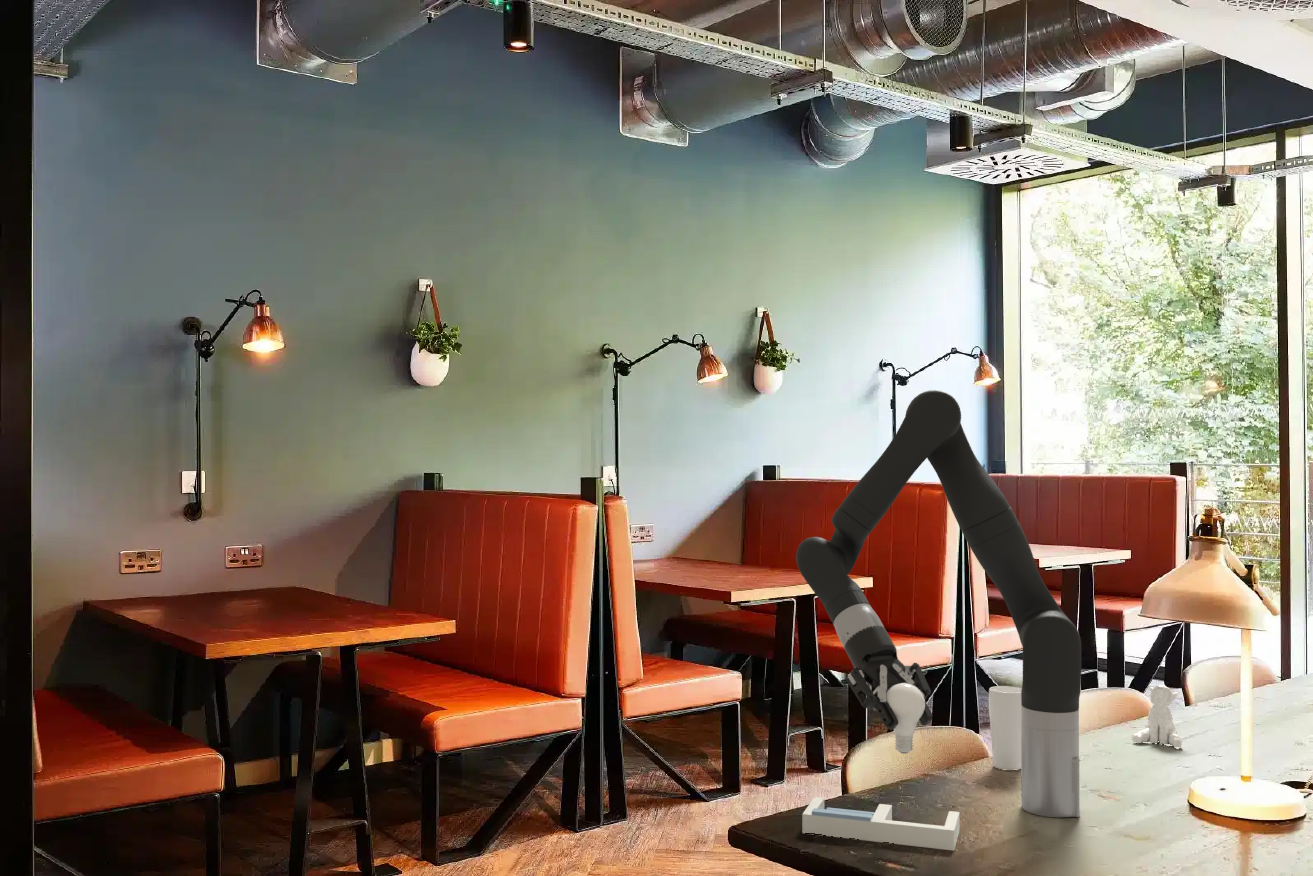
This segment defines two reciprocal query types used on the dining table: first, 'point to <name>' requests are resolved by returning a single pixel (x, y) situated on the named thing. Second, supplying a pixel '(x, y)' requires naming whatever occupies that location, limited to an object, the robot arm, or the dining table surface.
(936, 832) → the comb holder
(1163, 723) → the white creature statuette
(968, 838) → the dining table surface
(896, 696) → the lightbulb
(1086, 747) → the dining table surface
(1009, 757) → the drinking glass
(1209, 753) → the dining table surface
